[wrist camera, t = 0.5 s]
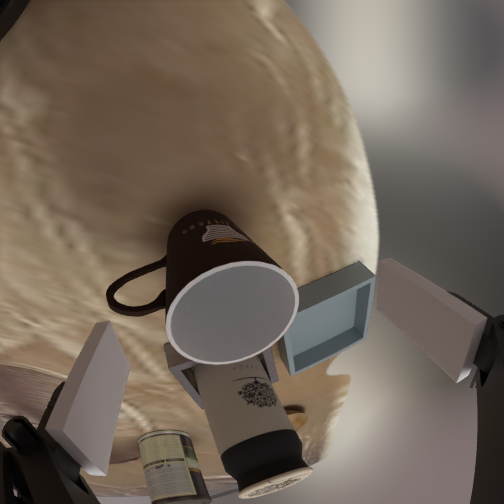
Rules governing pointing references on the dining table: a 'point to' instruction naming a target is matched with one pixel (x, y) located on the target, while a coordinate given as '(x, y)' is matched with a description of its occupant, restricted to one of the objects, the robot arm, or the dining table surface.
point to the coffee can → (172, 468)
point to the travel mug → (250, 427)
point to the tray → (328, 318)
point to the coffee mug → (217, 292)
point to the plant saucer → (297, 418)
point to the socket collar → (182, 364)
